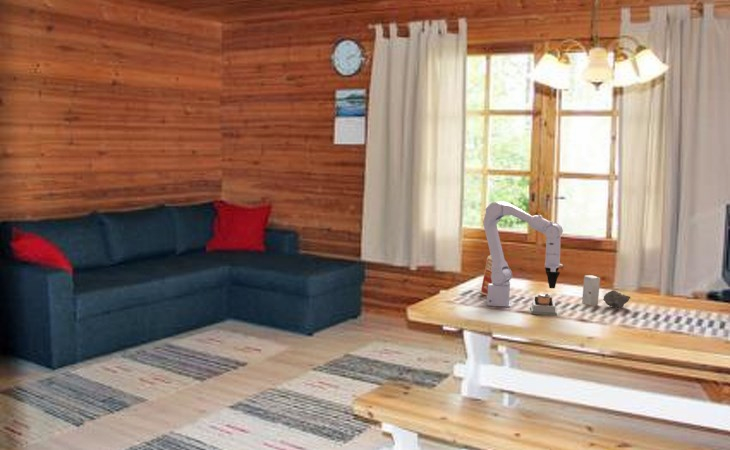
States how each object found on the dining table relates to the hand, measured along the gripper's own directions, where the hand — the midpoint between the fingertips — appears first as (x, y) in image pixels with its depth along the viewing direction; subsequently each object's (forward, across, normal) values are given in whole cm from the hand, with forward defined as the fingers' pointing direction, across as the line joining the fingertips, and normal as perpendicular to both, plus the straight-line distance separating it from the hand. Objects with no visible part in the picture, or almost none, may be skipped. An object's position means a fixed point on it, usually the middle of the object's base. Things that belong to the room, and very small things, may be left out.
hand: (551, 286), depth 288 cm
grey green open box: (+10, 0, +3) cm, 11 cm away
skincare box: (+11, +19, -18) cm, 28 cm away
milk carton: (+11, +27, +24) cm, 37 cm away
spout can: (+10, 0, +3) cm, 10 cm away
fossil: (+11, +14, -28) cm, 33 cm away
